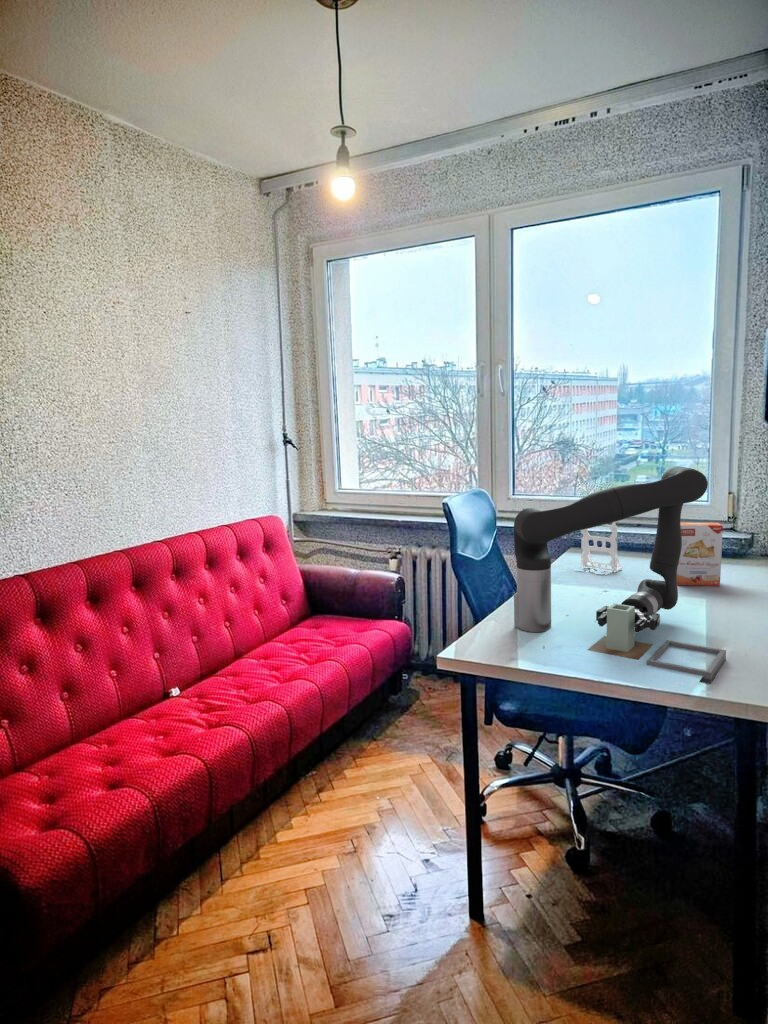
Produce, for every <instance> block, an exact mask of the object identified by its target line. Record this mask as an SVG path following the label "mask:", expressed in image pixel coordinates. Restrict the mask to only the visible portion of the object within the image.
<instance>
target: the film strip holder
mask: <svg viewBox="0 0 768 1024" xmlns="http://www.w3.org/2000/svg"><path fill="white" fill-rule="evenodd" d="M616 522H617V521H616ZM616 522H612V523H611V524H605V525H600V526H603V527H609V529H610V530H611V534H610V536H609V537H606V536H598V535H591V534H590V532H589V531H588V529H583V530H580V532H581V535H582V537H581V539H580V541H581V542H580V543H581V546H580V547H581V548H580V549H581V550H582V552H581V557H580V558H581V559H580V560H581V561H580V562H581V563H580V564H581V567H582V566H583V567H584V566H585V567H592V568H591V569H594V568H599V569H600V570H602V569H603V570H611V571H612V572H614V571H616V572H614V573H618V572H617V571H619V570H623V567H622V566H621V563H620V558H619V555H618V541H616V540H617V538H618V525H616V524H617V523H616ZM600 526H599V527H600ZM590 540H591V541H593V545H590V544H589V541H590ZM598 541H599V542H601V547H600V546H598ZM606 542H608V543H610V546H609V547H607V545H606ZM591 551H593V552H601V553H608V554H610V555H609V556H610V558H611V560H610V561H609V563H608V562H607V563H606V562H600V561H593V558H592V555H591ZM593 564H595V565H596V564H597V566H595V565H593ZM590 565H592V566H590ZM601 565H603V566H605V567H601ZM608 566H611V568H610V567H608ZM581 567H578V568H574V570H576V569H579V568H581ZM585 570H586V571H588V569H585ZM595 572H596V571H594V572H593V573H595ZM612 572H609V573H611V574H613V573H612ZM619 572H620V571H619ZM606 573H607V574H609V573H608V572H606ZM605 575H606V574H605ZM605 575H604V576H605ZM609 575H610V574H609ZM606 576H607V575H606Z"/></svg>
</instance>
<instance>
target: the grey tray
mask: <svg viewBox="0 0 768 1024" xmlns="http://www.w3.org/2000/svg"><path fill="white" fill-rule="evenodd" d="M670 647H673V648H678V649H679V648H680V649H684V650H690V651H695V652H701V653H708V654H713V655H716V656H715V657H714V659H713V661H712V662H711V663H710V665H709V667H708V668H707V669H702V668H696V667H691V666H686V665H680V664H676V663H670V662H665V661H659V659H660V658H661V657H662V655H663V654H664V653H665V652H666V651H667V650H668V649H669V648H670ZM726 659H727V649H721V648H714V647H711V646H702V645H698V644H691V643H686V642H680V641H674V640H669V639H666V640H665V641H664V642H663V643H662V644H661V646H660V647H658V648H657V649H656V650H655V651H654V653H653V654H652V655H651V656H650V657H649V658H648V659H647V660H646V665H647V666H651V667H656V668H660V669H665V670H669V671H676V672H681V673H686V674H690V675H696V676H700V677H701V678H700V680H699V683H703V684H708V685H711V684H712V683H713V681H714V680H715V678H716V676H717V675H718V673H719V672H720V670H721V668H722V667H723V666H724V664H725V662H726Z"/></svg>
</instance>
